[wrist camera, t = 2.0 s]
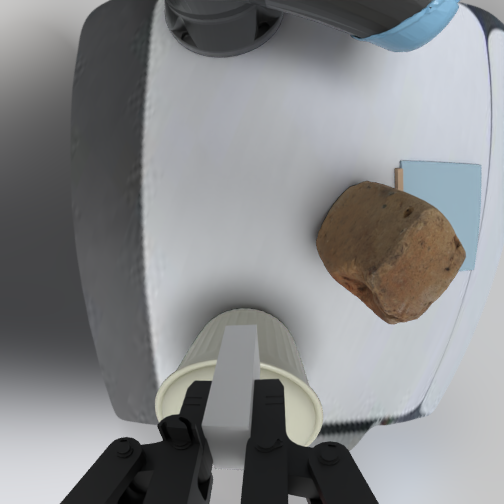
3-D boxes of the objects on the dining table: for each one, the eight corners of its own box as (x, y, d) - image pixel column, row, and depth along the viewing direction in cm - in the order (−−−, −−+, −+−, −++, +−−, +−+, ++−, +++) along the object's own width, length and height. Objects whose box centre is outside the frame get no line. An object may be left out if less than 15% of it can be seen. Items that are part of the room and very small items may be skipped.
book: (394, 160, 36) (397, 160, 36) (479, 164, 35) (482, 165, 34) (392, 276, 41) (394, 279, 40) (472, 268, 40) (475, 270, 39)
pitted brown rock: (358, 172, 37) (436, 191, 18) (396, 211, 38) (485, 259, 19) (303, 234, 40) (332, 306, 21) (343, 270, 41) (393, 357, 22)
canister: (255, 402, 49) (248, 508, 29) (165, 344, 46) (116, 446, 26) (333, 334, 44) (366, 445, 24) (236, 260, 42) (207, 356, 22)
